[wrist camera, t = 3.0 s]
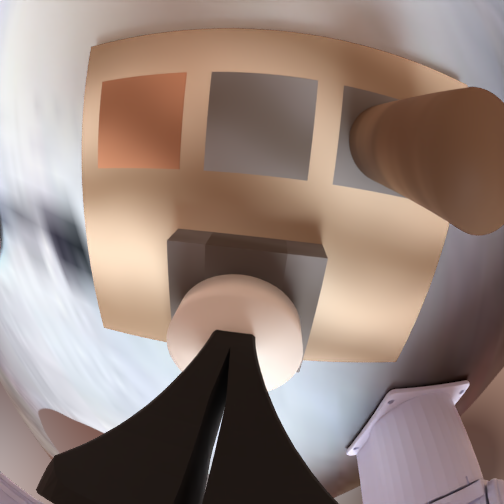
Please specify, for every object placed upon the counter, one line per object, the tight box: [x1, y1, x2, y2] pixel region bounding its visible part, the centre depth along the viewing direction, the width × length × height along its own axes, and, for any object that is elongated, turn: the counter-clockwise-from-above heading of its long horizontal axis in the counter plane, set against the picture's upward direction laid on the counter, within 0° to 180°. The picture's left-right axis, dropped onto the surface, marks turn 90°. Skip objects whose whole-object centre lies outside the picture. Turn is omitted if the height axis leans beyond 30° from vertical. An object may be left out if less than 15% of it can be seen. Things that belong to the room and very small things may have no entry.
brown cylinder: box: [349, 87, 504, 235], centre depth 7 cm, size 3×3×6 cm
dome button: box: [167, 274, 303, 391], centre depth 11 cm, size 5×5×3 cm
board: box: [82, 28, 467, 372], centre depth 11 cm, size 15×17×2 cm
